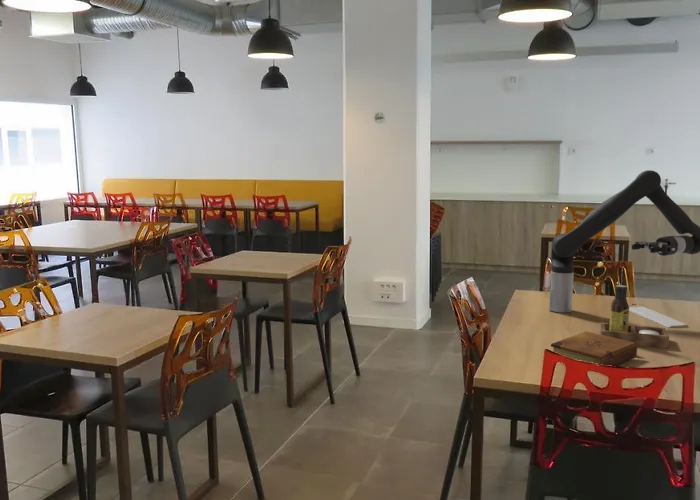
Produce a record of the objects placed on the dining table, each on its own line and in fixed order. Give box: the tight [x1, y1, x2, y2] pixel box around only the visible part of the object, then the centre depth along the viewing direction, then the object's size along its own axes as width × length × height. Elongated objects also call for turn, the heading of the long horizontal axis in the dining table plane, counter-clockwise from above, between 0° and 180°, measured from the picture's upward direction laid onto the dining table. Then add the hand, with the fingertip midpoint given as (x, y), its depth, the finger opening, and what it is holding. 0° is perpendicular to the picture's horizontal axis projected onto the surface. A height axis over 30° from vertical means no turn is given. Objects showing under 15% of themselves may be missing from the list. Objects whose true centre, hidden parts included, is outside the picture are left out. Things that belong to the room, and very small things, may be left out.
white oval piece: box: [639, 330, 659, 335], centre depth 237 cm, size 7×7×4 cm
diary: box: [550, 331, 638, 367], centre depth 222 cm, size 23×19×6 cm
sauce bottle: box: [609, 284, 630, 332], centre depth 239 cm, size 6×6×20 cm
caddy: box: [599, 322, 670, 349], centre depth 239 cm, size 22×12×5 cm, turn 71°
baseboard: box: [628, 303, 689, 329], centre depth 274 cm, size 30×3×10 cm
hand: (641, 248), depth 252 cm, fingers open, 8 cm apart
